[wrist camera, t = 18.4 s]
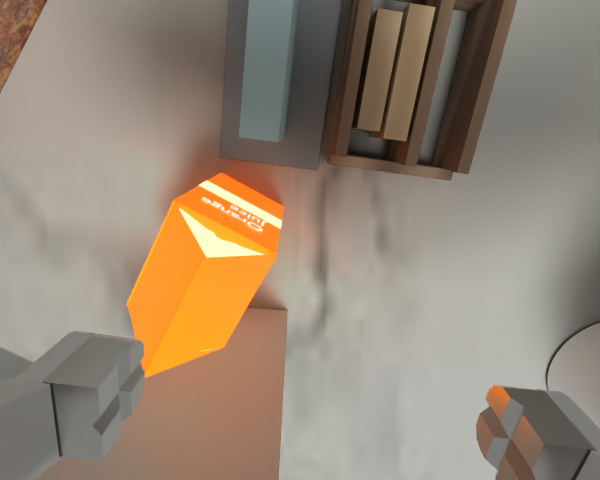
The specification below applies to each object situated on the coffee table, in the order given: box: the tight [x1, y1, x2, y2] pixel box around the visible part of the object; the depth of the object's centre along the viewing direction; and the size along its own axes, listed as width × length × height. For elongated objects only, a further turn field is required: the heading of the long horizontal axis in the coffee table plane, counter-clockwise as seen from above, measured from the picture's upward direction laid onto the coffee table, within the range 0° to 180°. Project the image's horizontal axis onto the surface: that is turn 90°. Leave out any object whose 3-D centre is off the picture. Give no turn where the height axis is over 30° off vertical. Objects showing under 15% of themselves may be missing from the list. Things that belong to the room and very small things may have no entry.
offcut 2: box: [370, 3, 436, 141], centre depth 31 cm, size 2×10×6 cm, turn 172°
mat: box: [220, 0, 342, 170], centre depth 33 cm, size 10×18×1 cm, turn 172°
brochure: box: [37, 308, 288, 480], centre depth 27 cm, size 14×6×30 cm, turn 86°
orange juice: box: [126, 173, 284, 378], centre depth 28 cm, size 8×9×20 cm
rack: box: [327, 0, 517, 180], centre depth 31 cm, size 12×16×6 cm
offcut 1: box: [351, 8, 403, 132], centre depth 31 cm, size 2×9×6 cm, turn 172°
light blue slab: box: [239, 0, 301, 142], centre depth 26 cm, size 2×12×13 cm, turn 173°
